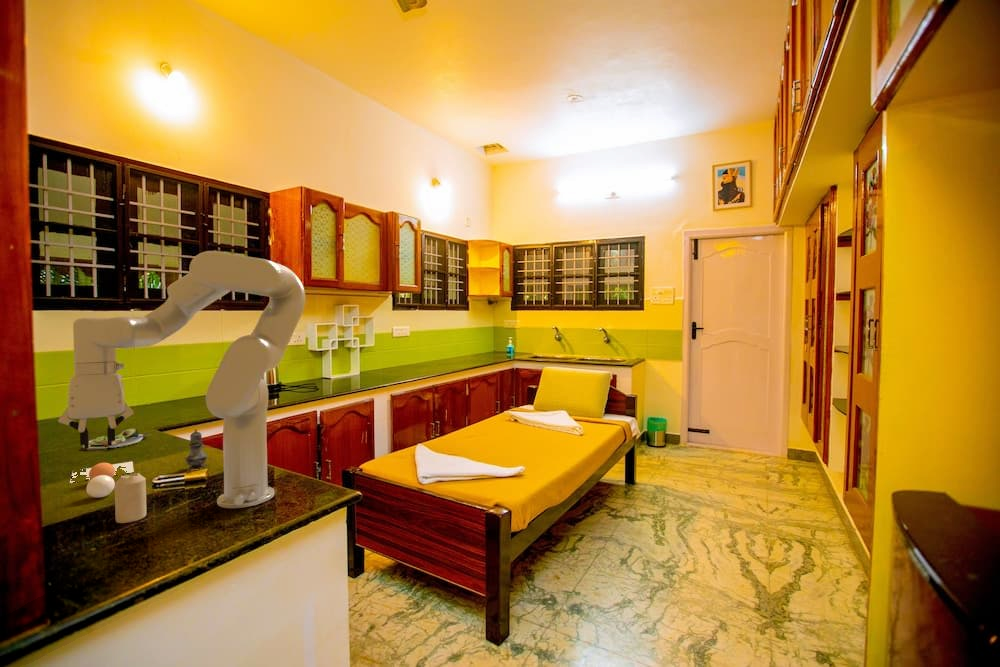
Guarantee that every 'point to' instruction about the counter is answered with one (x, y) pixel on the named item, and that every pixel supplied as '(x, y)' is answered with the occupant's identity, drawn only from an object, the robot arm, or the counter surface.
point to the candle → (130, 498)
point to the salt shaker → (196, 452)
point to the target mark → (127, 464)
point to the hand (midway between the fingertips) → (98, 445)
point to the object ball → (102, 470)
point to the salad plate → (118, 440)
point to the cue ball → (100, 486)
